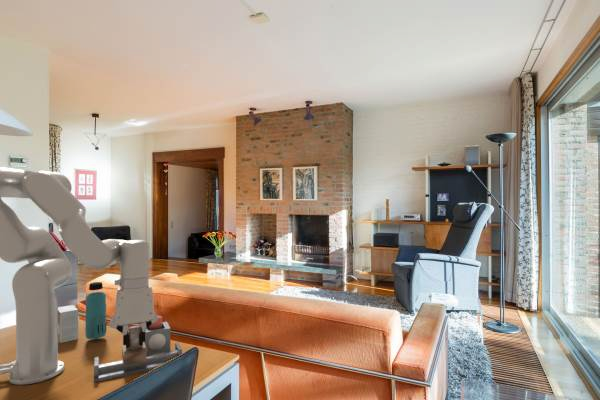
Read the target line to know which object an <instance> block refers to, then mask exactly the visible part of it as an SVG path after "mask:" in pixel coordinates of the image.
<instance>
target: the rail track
mask: <svg viewBox="0 0 600 400" xmlns="http://www.w3.org/2000/svg"><path fill="white" fill-rule="evenodd" d="M181 354H182V355H183V349H182V347H181V345H180V342H175V343H174V350H170V351H168V352H163V353H158V354H153V355H148V356H147V361H144V362H139V363H134V364H129V365H124V366H123V359H122V360H118V361H112V362H107V363H101V364H99V363H100V359H99V356H96V357H94V363H93V364H94V365H93V369H94V371H93V373H94V374H93V375H94V376H93V383H98V382H97V381H99V382H102V381H101V380H104V381H107V380H106V379H109V380H111V379H110V378H113V379H118V378H121V377H127V376H131V375H136V374H140V373H141V374H142V373H145V372H151V371H153V370H152V369H154V368H156V367H158V366H160V365H162V364H164V363H166V362H167V361H169V360H171V359H173V358H175V357H177V356H179V355H181ZM117 377H118V378H117Z"/></svg>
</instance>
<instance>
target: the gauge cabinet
mask: <svg viewBox="0 0 600 400" xmlns="http://www.w3.org/2000/svg"><path fill="white" fill-rule="evenodd" d="M144 343H145V346H146V350H147V356H148V355H153V354H158V353H163V352H168V351H171V327H170V324H169V323H168V321H162V327H161V328H158V329H149V328H148V329H147V330H146V331H145V342H144Z"/></svg>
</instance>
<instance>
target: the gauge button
mask: <svg viewBox="0 0 600 400" xmlns="http://www.w3.org/2000/svg"><path fill="white" fill-rule="evenodd" d="M157 316H158V318H159V319H158V320H157V321H156V322H154V323H152V324H151V325H150V326H149V329H158V328H161V327H162V322H163V316H162V315H157Z"/></svg>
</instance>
